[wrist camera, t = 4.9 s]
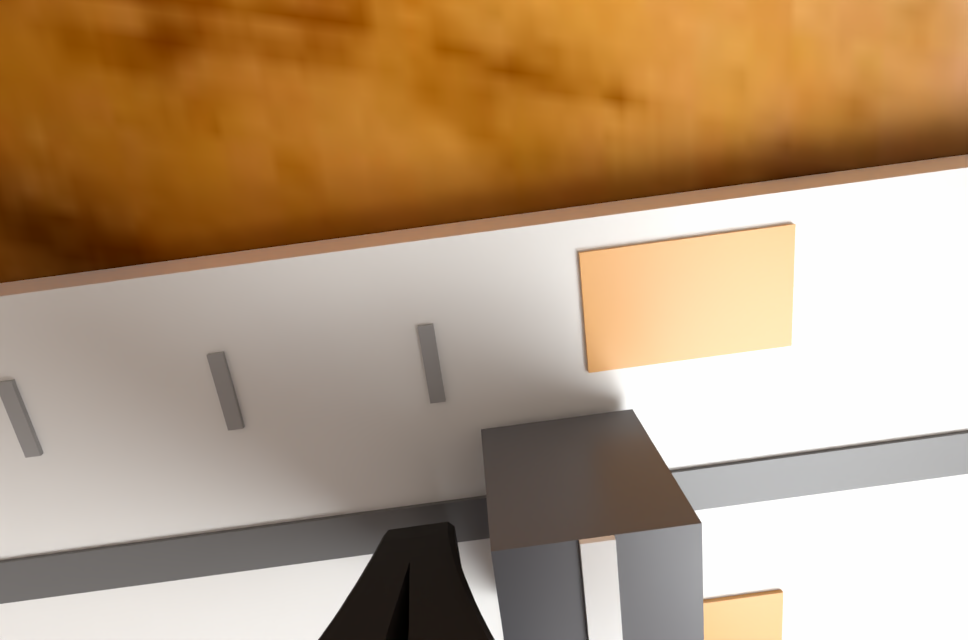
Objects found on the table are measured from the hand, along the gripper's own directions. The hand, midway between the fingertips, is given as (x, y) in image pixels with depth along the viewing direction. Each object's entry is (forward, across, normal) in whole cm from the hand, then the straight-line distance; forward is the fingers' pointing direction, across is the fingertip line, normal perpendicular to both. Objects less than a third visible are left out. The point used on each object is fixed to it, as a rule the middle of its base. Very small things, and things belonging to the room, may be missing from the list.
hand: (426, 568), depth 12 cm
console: (+3, -1, 0) cm, 3 cm away
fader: (+1, -3, 0) cm, 3 cm away
